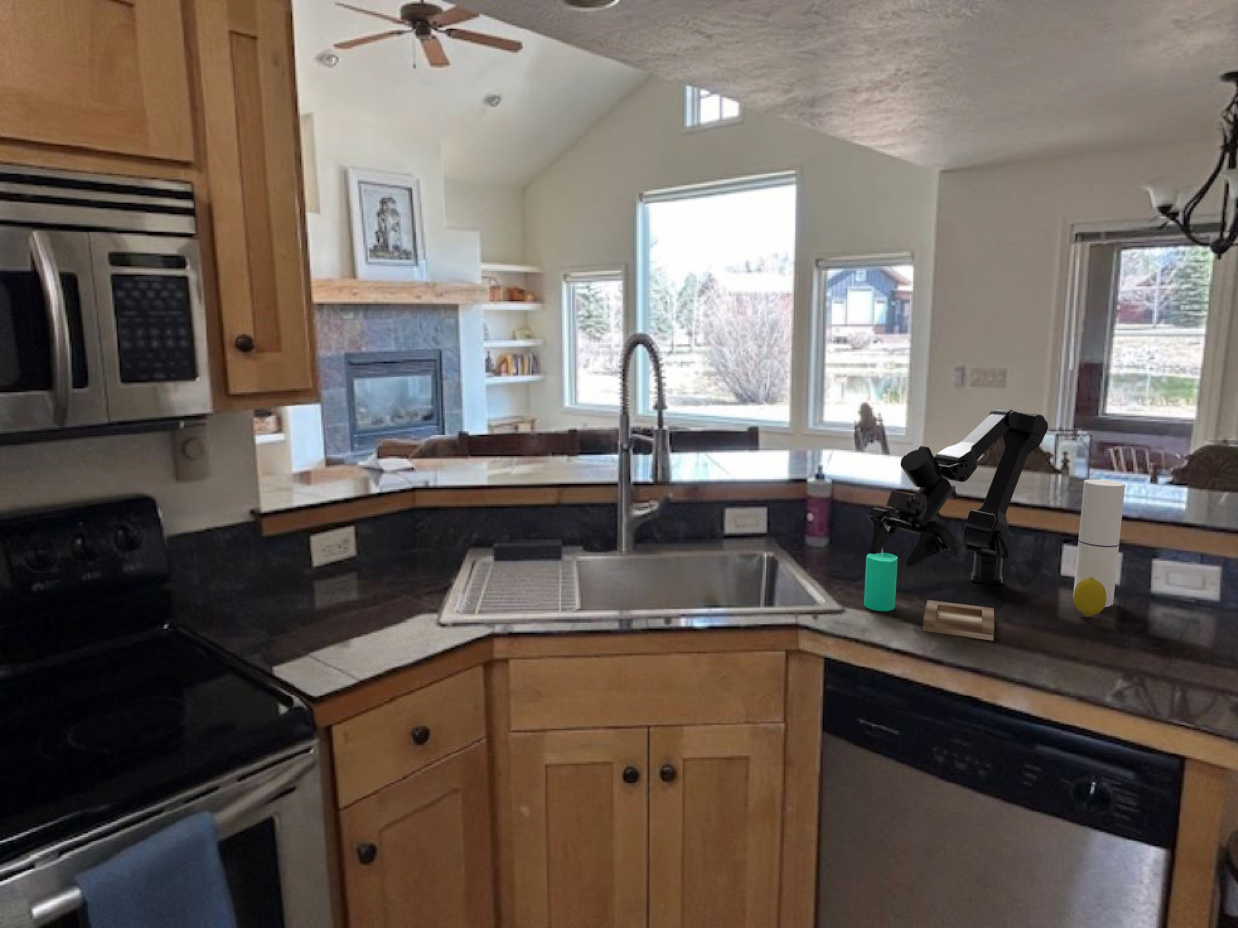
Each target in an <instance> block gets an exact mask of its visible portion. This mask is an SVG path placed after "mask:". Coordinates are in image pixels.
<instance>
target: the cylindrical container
mask: <svg viewBox="0 0 1238 928" xmlns="http://www.w3.org/2000/svg"><path fill="white" fill-rule="evenodd" d="M1125 489H1126V483H1125V482H1122V481H1118V480H1109V479H1098V478H1097V479H1096V478H1094V479H1085V480H1083V489H1082V498H1081V511H1080V519H1079V520H1080V521H1079V530H1078V531H1079V532H1078V543H1077V550H1076V551H1077V552H1076V563H1075V572H1074V573H1075V575H1074V585H1073V592H1074V591H1075V588H1076V586H1077V584H1078V583H1079V582H1080V581H1082V580H1085V579H1089V578H1090V577H1092V578H1094V579H1095V580H1097V581H1099V582H1100V583H1101V584H1102V585H1103V586H1104V588H1105V591H1106V604H1105V607H1104V608H1108V607H1109V606H1110V607H1112V606H1113V605H1114V599H1115V587H1116V578H1117V568H1118V567H1117V566H1118V560H1119V549H1120V540H1121V529H1122V520H1123V519H1122V518H1123V512H1124V511H1123V510H1124V500H1125ZM1072 595H1073V596H1074V593H1073V594H1072ZM1073 596H1072V600H1073V599H1074V598H1073ZM1111 605H1112V606H1111Z"/></svg>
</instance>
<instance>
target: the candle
mask: <svg viewBox="0 0 1238 928" xmlns="http://www.w3.org/2000/svg"><path fill="white" fill-rule="evenodd" d="M883 551H884V550H883V548H882V549H881V552H880V553H879V552H878V553H876V554H869V553H868V554H867V555H866V558H865V575H864V576H865V578H864V579H865V580H864V594H863V595H864V597H863V605H864V607H865V608H867V609H869V610H873V611H878V612H889V611H893V610H895V608H896V594H897V578H898V577H897V576H898V560H899V559H898V558H899V557H898V556H897V555H895V554H893V553H889V552H883Z"/></svg>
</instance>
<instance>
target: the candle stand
mask: <svg viewBox="0 0 1238 928" xmlns="http://www.w3.org/2000/svg"><path fill="white" fill-rule="evenodd" d="M994 609H995V608H993V607H985V606H978V605H971V604H962V603H953V602H946V601H940V600H939V601H938V600H929V599H928V600H927V602H926V605H925V610H924V615H923V621H922V631H923V632H928V633H929V632H930V633H937V634H943V635H944V634H945V635H949V636H950V635H951V636H956V637H957V636H958V637H964V638H972V639H978V640H987V641H992V642H993V641H994V637H995V636H994V635H995V616H994V615H995V612H994Z"/></svg>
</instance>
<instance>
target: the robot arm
mask: <svg viewBox="0 0 1238 928" xmlns="http://www.w3.org/2000/svg"><path fill="white" fill-rule="evenodd" d="M1048 430H1049V424H1048V421H1047V420H1046V418H1045V417H1044V415H1042V414H1039V413H1038V414H1037V413H1027V412H1018V411H1015V410H1013V409H1004V408H995V409H992V410H990V412H989V414H988V416H987V417H986V418H985V419H984V420H983V421H982V422H981V423H980V424H978V425H977V426H976V427H975V428H974V429H973V430H972V431H971V432H970V433H969V434H968V435H967V436H966V437H964V439H962V440H961V441H960V442H958V443H955V444H953V445H950V446H947V447H945V448H944V449H942V450H940V451H938V452H937V453H936V455H935V456H934V455H933V451H932V449H930V447H929V446H924V445H920V446H919V447H918V448H917V449H914V450H912V451H910V452H908V453H907V454H905V455H904V456H903V457H902V458H901V460H900V467H901V468H902V470H903V471H904V473H905V475H906V476H907V477H908V479H909V480H910V482H911V483H912V484H913V486H915V487H916V488H919V489H918V491H917V492H915V493H913V494H909V493H905V492H902V491H901V492H900V491H896V490H891V491H890V494H889V497H888V499H887V502H886V506H887V507H891V508H893V509H894V510H895V511H894V513H895V515H896V516H898V517H899V519H898V518H895V517H894V516H893V514H892V513H891V512H890V510H887V509H883V508H879V507H872V508H870V509H869V511H868V513H867V514H866V517H867V519H868V520H869V522H870V523H871V525H872V527H873V534H872V539H871V543H870V548H869V553H868V554H878V553H879V552H880V550H881V551H882V549H883V548H884V547H885V546H886V545H887V543H889V541H891V539H893V536H892V535H893V534H895V533H896V532H897V530H900V531H903V532H904V531H905V532H909V533H911V534H916V535H918V536H919V540H918V542H917V544H916V545H915V547H914V548H913V550H912V551H911V553H910V555H909V556H908V558H907V559H906V562H905V566H906V567H907V568H911V567H912V566H914V565H916V564H918V563H920V562H922V561H924V560H925V559H927V558H929V557H932V556H934V555H937V554H939V553H944V552H945V551H948V552H951V551H952V550H953V549H954V547H955V546H956V543H957V539H956V536H955V535H954V533H953V532H952V531H951V529H950V527H949V525H947V524H946V523H941V522H938V520H940V518H941V516H942V515H941V514H940V511H941V509H942V508H943V506H944V505H945V503H946V502H947V500H948V499H952V500H957V498H958V494H957V491H956V486H955V485H952V484H951V482H950V481H954V482H960V483H964V482H966V481H968V480H969V479H970V478H971V476H972V475H973V474H974V472H975V471H976V470H977V468H978V460H979V459H980V458H981V457H982V456H983V455H984V454H985V453H986V452H987V451H988V450H989V449H990V448H991V447H992V446H993V445H995V444H996V442H997V441H998V440H1000V439H1002V441H1003V445H1004V448H1003V451H1002V453H1001V456H1000V459H999V462H998V464H997V467H996V469H995V472H994V475H993V477H992V480H991V482H990V485H989V489H988V491H987V494H986V496H985V499H984V501H983V504H982V505H981V507H979V508H978V509H977V510H974V509H971V510H970V511H969V512H968V516H967V520H966V521H965V523H964V524H963V527H964V528H963V532H962V534H963V535H962V536H963V542H964V546H965V550H966V551H970V552H974V557H973V558H974V559H973V560H974V561H973V571H971V573H970V575H971V576H970V581H971V582H973V583H983V584H984V583H985V584H992V585H998V586H999V585H1004V577H1003V575H1002V570H1003V569H1002V567H1003V559H1009V558H1011V557H1012V556H1013V554H1014V552H1015V545H1014V544H1013V542H1012V541H1011V539H1010V538H1009V537H1008V532H1009V528H1010V527H1009V523H1008V520H1007V519H1008V518H1007V515H1006V514H1007V512H1008V509H1009V505H1010V504H1011V501H1012V499H1013V495H1014V492H1015V490H1016V489H1017V485H1018V482H1019V480H1020V477H1021V475H1022V472H1023V469H1024V466H1025V464H1026V462H1027V458H1028V456H1029V455H1030V454H1031V453H1032V452H1033V451H1035V450H1036V449H1037V448H1038V447H1039V446H1040V445H1041V444H1042V442H1043V440H1044V437H1046V434H1047V433H1048ZM1001 437H1002V438H1001ZM934 520H937V521H934Z"/></svg>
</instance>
